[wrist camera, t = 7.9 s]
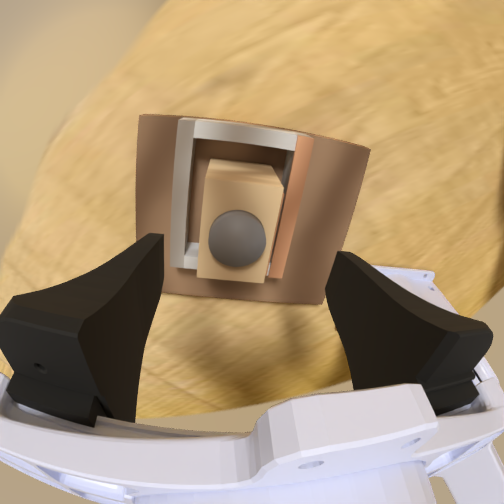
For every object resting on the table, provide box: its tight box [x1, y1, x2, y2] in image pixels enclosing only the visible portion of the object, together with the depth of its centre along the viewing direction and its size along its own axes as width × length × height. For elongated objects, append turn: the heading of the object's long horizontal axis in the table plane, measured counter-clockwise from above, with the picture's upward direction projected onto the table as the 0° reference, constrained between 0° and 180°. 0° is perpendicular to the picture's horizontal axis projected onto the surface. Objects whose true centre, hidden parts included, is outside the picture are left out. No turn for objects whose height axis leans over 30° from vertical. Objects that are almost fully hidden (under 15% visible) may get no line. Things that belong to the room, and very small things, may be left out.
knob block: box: [197, 158, 284, 283], centre depth 18 cm, size 4×6×6 cm
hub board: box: [136, 114, 371, 304], centre depth 21 cm, size 16×14×3 cm
